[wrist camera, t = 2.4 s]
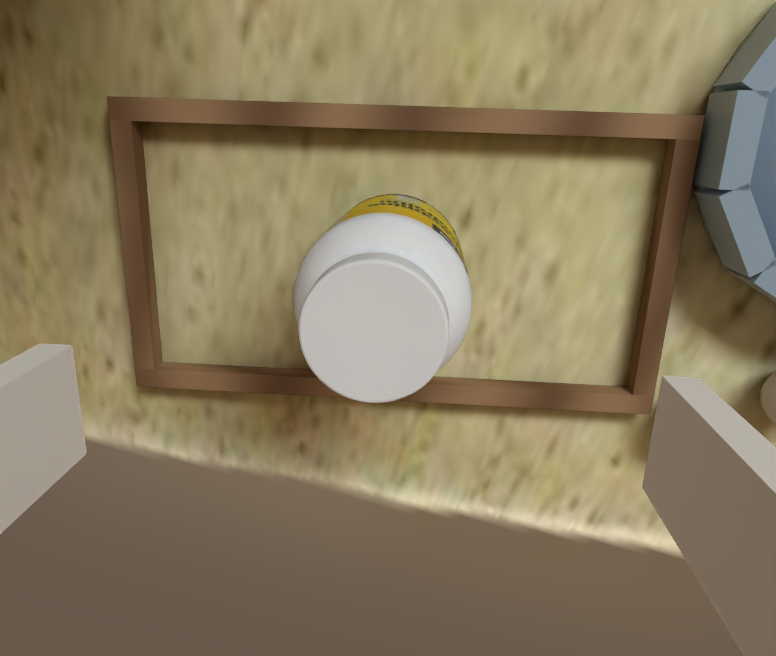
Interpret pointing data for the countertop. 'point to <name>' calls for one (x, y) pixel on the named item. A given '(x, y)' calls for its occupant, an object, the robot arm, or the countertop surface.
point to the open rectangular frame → (673, 127)
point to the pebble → (769, 397)
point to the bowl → (743, 161)
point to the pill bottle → (383, 299)
